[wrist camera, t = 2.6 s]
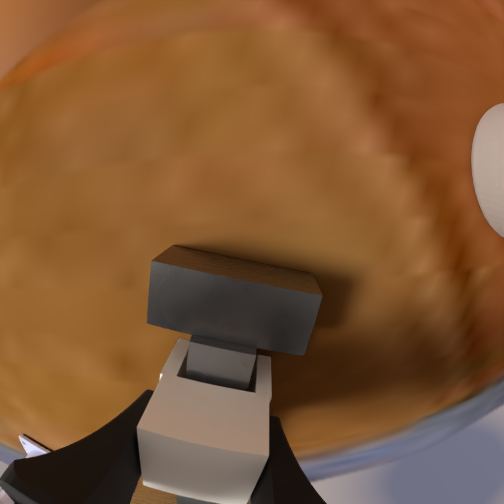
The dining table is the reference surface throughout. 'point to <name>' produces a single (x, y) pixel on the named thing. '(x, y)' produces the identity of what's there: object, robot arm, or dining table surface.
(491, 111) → the coffee cup
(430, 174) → the dining table surface
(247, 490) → the carriage
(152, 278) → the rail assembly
